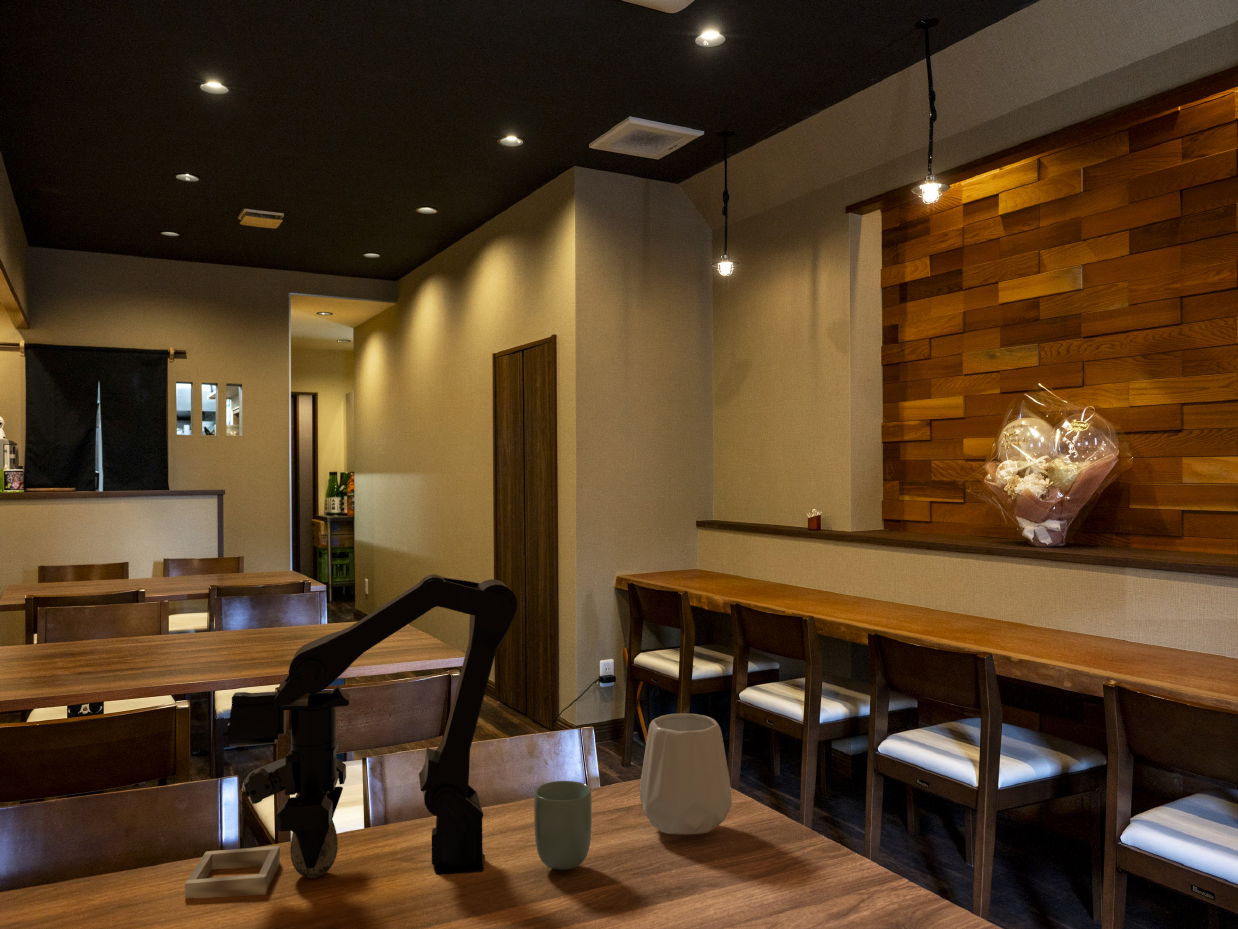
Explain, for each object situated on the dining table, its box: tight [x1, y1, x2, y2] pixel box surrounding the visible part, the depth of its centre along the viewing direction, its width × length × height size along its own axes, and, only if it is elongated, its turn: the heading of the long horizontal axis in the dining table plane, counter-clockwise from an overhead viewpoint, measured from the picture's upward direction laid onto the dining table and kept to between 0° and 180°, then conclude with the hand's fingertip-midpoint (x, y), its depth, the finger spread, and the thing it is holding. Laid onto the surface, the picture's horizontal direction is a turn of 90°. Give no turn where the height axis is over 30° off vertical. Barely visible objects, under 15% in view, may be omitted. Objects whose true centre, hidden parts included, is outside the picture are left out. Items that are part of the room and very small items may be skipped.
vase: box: [639, 712, 733, 835], centre depth 137 cm, size 14×14×15 cm
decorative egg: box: [289, 819, 339, 879], centre depth 119 cm, size 6×6×10 cm
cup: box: [533, 780, 593, 871], centre depth 123 cm, size 8×8×10 cm
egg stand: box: [184, 845, 281, 899], centre depth 118 cm, size 10×10×2 cm
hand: (314, 857), depth 119 cm, fingers closed on decorative egg, 6 cm apart
